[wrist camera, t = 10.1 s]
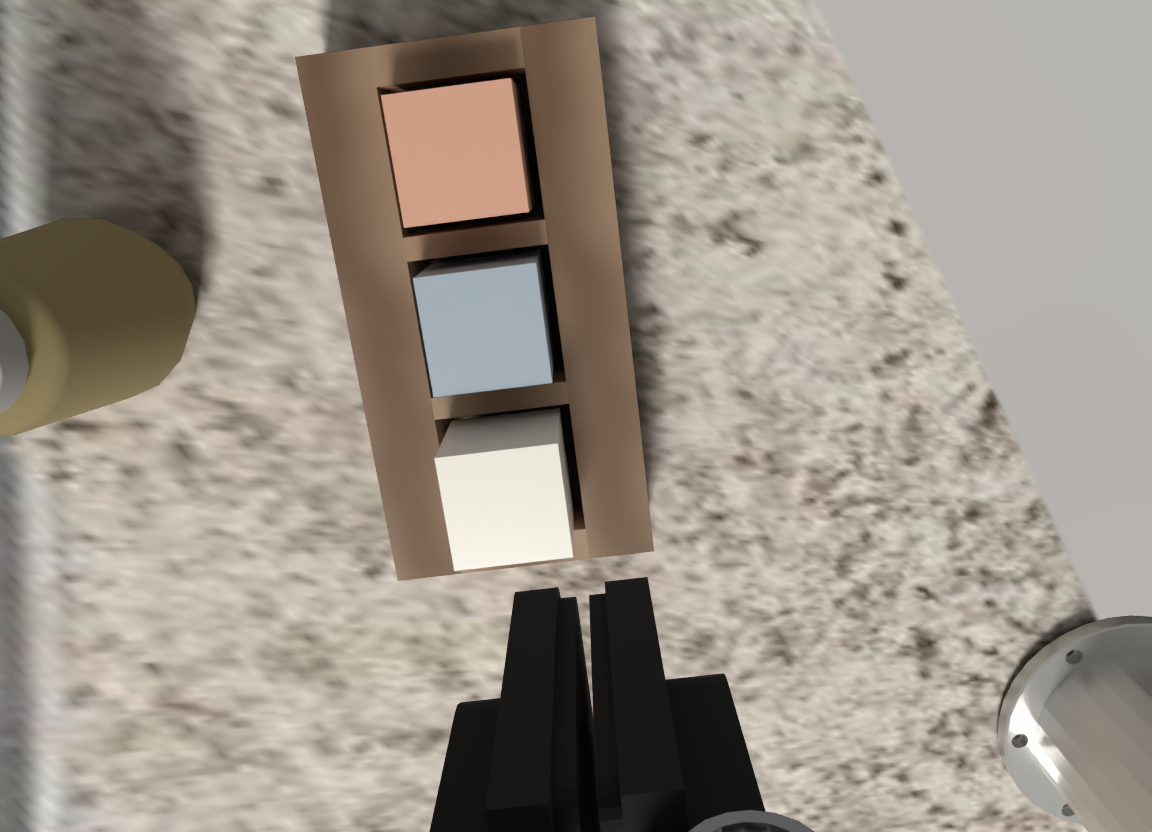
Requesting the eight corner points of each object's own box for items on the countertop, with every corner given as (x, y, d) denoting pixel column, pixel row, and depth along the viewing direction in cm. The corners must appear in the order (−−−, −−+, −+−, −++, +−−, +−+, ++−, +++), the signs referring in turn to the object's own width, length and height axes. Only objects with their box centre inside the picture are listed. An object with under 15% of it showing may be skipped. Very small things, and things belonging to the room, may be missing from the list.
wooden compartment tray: (592, 31, 40) (595, 16, 36) (646, 514, 46) (654, 551, 42) (324, 67, 40) (295, 56, 36) (414, 541, 47) (398, 580, 42)
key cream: (559, 408, 41) (557, 443, 36) (573, 509, 43) (573, 557, 38) (451, 421, 41) (434, 458, 36) (468, 521, 43) (454, 571, 38)
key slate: (540, 249, 41) (536, 262, 36) (555, 355, 43) (552, 383, 38) (432, 263, 42) (412, 278, 36) (450, 368, 43) (433, 397, 38)
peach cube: (519, 88, 39) (511, 78, 34) (534, 205, 41) (529, 211, 36) (405, 103, 40) (380, 95, 34) (425, 219, 41) (404, 228, 36)
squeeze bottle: (47, 364, 44) (-294, 500, 27) (51, 196, 42) (-318, 225, 24) (214, 393, 44) (-15, 545, 27) (227, 228, 42) (-13, 279, 25)
